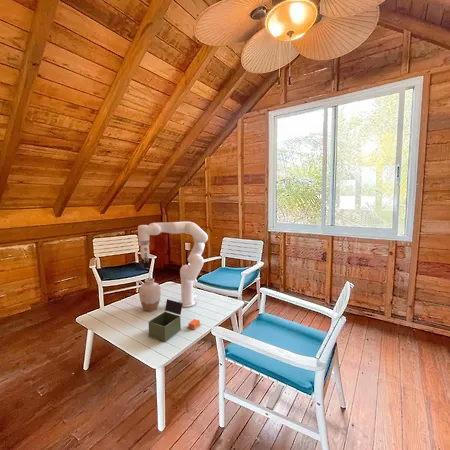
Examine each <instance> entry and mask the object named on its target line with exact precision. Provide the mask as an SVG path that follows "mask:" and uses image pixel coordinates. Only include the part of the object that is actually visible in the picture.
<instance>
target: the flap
mask: <svg viewBox="0 0 450 450" xmlns="http://www.w3.org/2000/svg"><path fill="white" fill-rule="evenodd" d="M182 304H183V303H180V301H176V300H173V299H166V303H165V307H164V312H169V313H172V314H175V315H179V316H181V314H182V309H183V306H182Z"/></svg>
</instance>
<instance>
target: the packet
mask: <svg viewBox="0 0 450 450" xmlns="http://www.w3.org/2000/svg"><path fill="white" fill-rule="evenodd" d="M200 321H201V320H200V319H196V318H194V319H192V320H191V321H190V322H188V329H192V330H196V328H198V327H199V326H200V325H201V323H200Z"/></svg>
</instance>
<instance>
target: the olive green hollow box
mask: <svg viewBox="0 0 450 450" xmlns="http://www.w3.org/2000/svg"><path fill="white" fill-rule="evenodd" d="M181 326H182V325H181V315H178V314H175V313H172V312H168V311H162V313H160V314H158V315H157V316H155V317H153V318H152V319H150V320H149V321H148V337H151V338H153V339H156V340H158V341H161V342H165V343H166V342H167V341H168V340H169V339H171V338H172V337H173V336H175V335H176V334H177V333H179V332H180V331H181V329H182V328H181Z"/></svg>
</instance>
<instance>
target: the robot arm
mask: <svg viewBox="0 0 450 450" xmlns="http://www.w3.org/2000/svg"><path fill="white" fill-rule="evenodd" d="M162 233H166V234H167V233H168V234H171V235H173V234H174V235H176V234H189V235H191V236H192V239H193V247H192V249H191V251H190V253H189V255H188V257H187V262H188V264H183V265H182V266H181V267H180V269H179V275H180V276H179V277H180V292H181V293H180V296H181V297H180V299H181V300H180V301H179V303H183V304H182V308H183V307H184V308H189V307H193V306H195V305H196V300H195V298H197V295H196V294H194V280H196V279H197V277H198V276H199V274H200V272H201V271H202V268H203V266H204V263H205V260H204V257H203V256H202V255H203V253H204V250H205V247H206V246H205V245H206V244H205V243H207V242H208V240H209V235H208V233H207V232H206V231H204V230H203V229H202V228H201V227H200V226H199V225H198V224H196V223H195V222H192V221H174V222H173V221H168V222H167V221H166V222H151V223H149V224H140V225H138V226H137V237H138V246H140V257H141V265H143V269H148V268H149V267H150V266H149V265H150V264H149V263H150V262H149V259H151V255H150V244H151V242H150V241H151V239H150V237H151V236H158V235H160V234H162Z"/></svg>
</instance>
